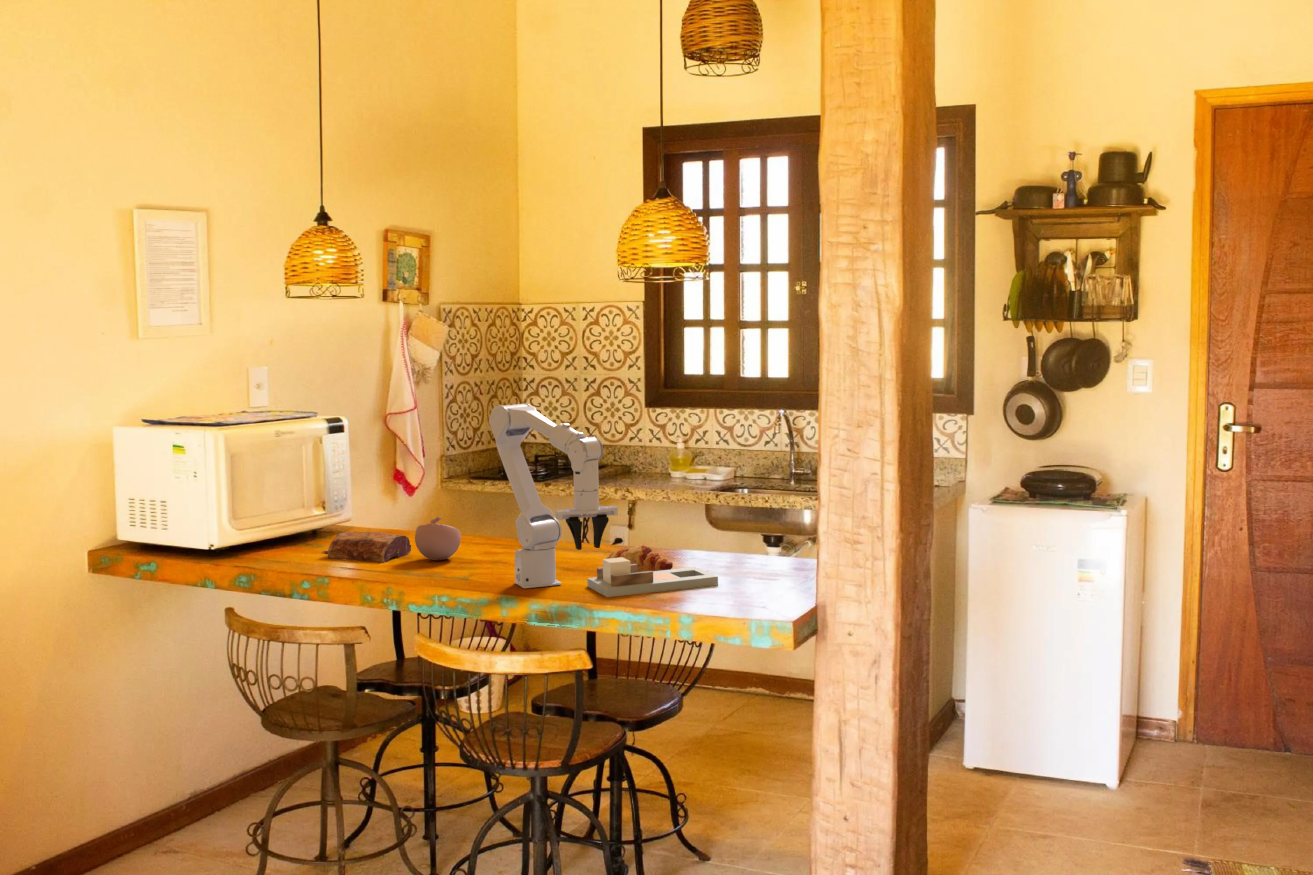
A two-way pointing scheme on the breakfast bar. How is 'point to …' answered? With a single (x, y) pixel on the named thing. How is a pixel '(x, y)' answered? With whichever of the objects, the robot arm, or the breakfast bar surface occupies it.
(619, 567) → the cube
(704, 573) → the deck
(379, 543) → the cured meat
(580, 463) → the robot arm
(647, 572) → the parallel rails
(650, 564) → the croissant
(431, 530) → the pink apple
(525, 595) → the breakfast bar surface
